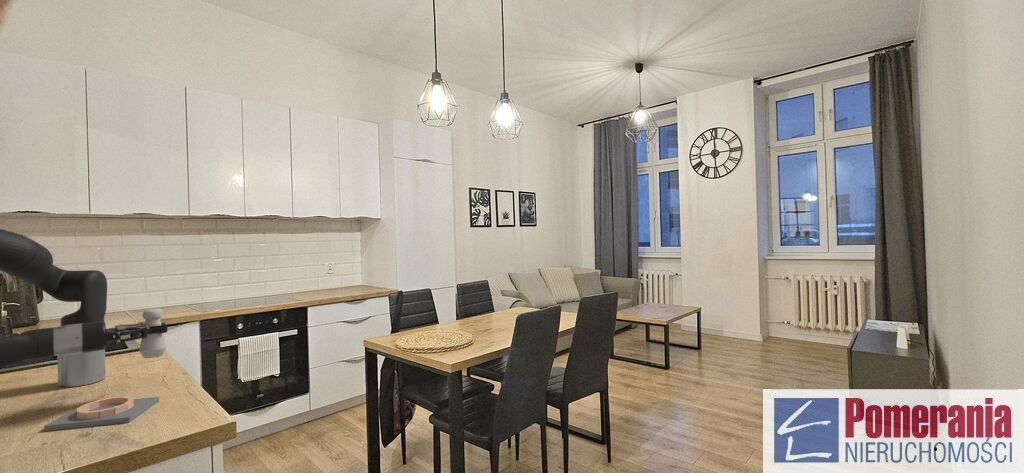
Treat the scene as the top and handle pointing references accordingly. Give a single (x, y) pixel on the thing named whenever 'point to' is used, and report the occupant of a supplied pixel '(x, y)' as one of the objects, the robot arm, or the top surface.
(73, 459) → the top surface
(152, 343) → the salt shaker
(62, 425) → the holder
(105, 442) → the top surface
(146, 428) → the top surface
